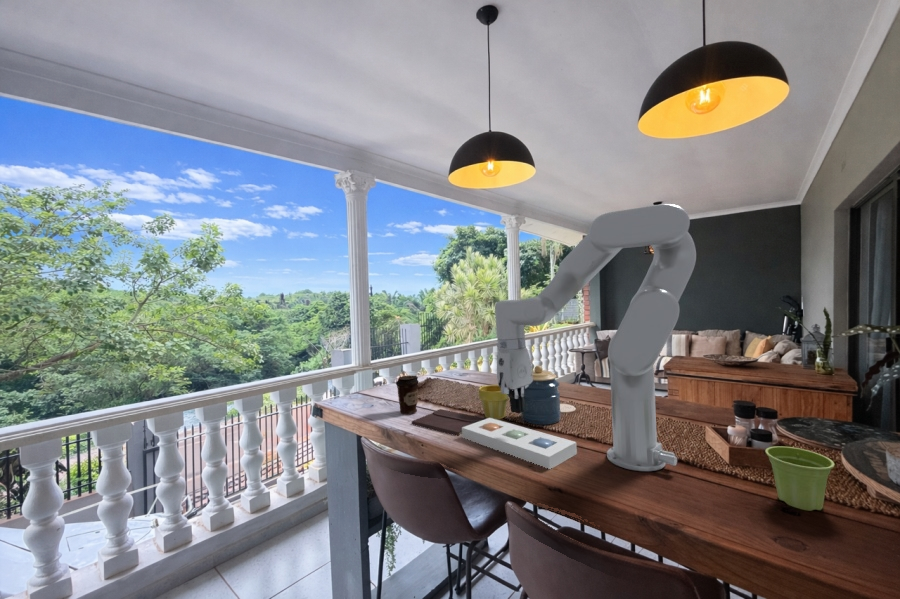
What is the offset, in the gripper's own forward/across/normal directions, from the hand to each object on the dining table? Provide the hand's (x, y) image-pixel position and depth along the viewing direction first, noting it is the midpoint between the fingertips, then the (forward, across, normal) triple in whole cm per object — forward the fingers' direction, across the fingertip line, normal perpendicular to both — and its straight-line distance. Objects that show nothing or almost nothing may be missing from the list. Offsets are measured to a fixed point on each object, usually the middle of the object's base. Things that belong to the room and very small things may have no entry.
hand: (517, 411), depth 102 cm
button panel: (+9, 0, +1) cm, 9 cm away
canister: (+10, +22, +9) cm, 26 cm away
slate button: (+9, 0, -8) cm, 12 cm away
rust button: (+9, 0, +10) cm, 13 cm away
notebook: (+9, 0, +29) cm, 31 cm away
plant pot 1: (+9, +14, +22) cm, 28 cm away
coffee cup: (+8, -2, +49) cm, 50 cm away
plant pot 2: (+12, +14, -55) cm, 58 cm away
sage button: (+9, 0, +1) cm, 9 cm away
